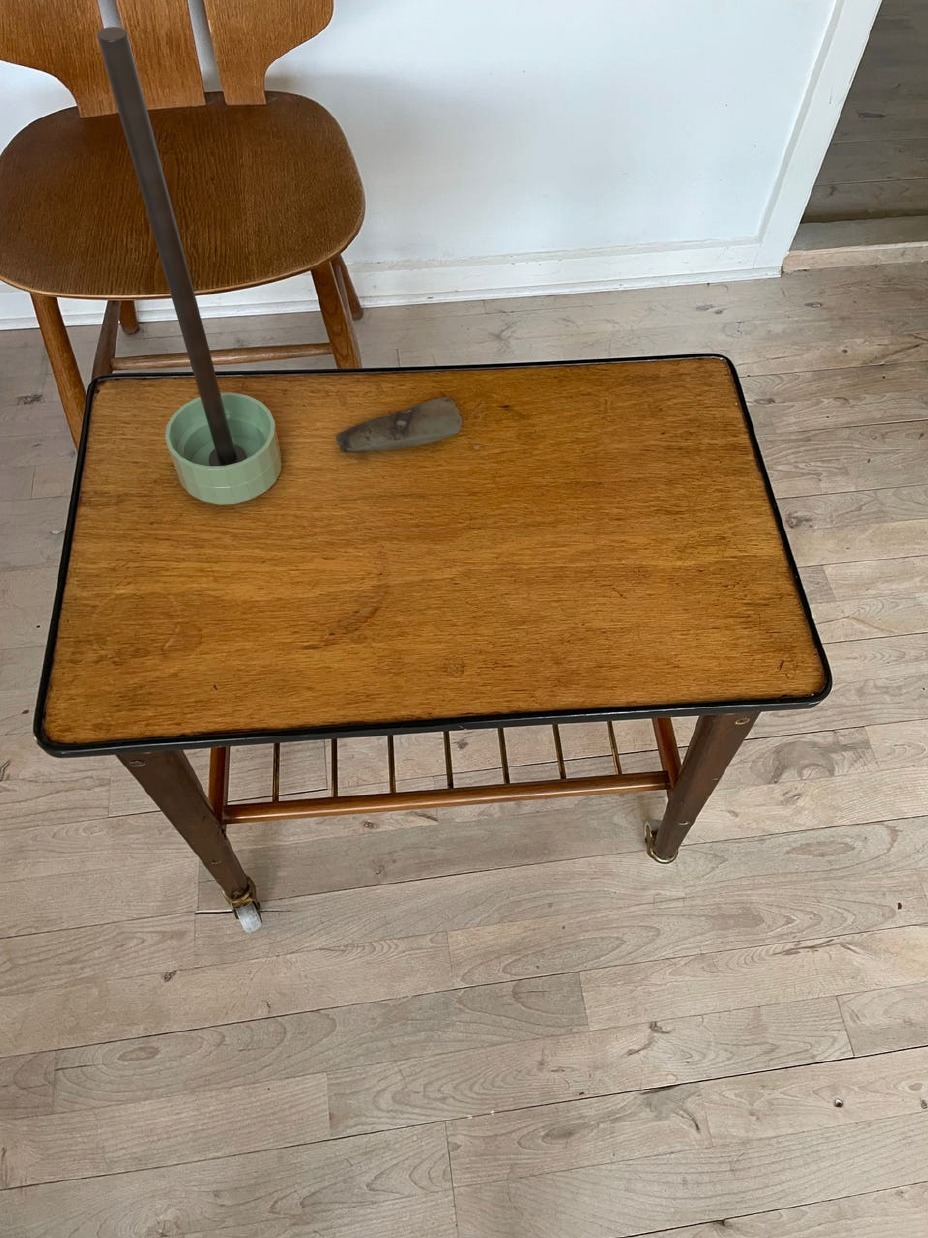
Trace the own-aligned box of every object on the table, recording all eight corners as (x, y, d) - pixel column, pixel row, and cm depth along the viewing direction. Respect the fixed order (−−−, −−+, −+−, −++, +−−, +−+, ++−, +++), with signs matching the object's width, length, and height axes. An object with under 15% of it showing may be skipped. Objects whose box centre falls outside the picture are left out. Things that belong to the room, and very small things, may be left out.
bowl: (157, 480, 83) (142, 440, 78) (224, 419, 88) (213, 378, 83) (238, 524, 80) (227, 485, 76) (302, 459, 85) (296, 418, 81)
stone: (450, 407, 90) (450, 391, 88) (468, 439, 88) (469, 423, 86) (332, 438, 87) (330, 422, 85) (347, 472, 85) (345, 456, 83)
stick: (203, 469, 83) (68, 36, 51) (227, 446, 85) (110, 14, 53) (232, 484, 82) (112, 53, 50) (255, 461, 84) (154, 30, 52)
